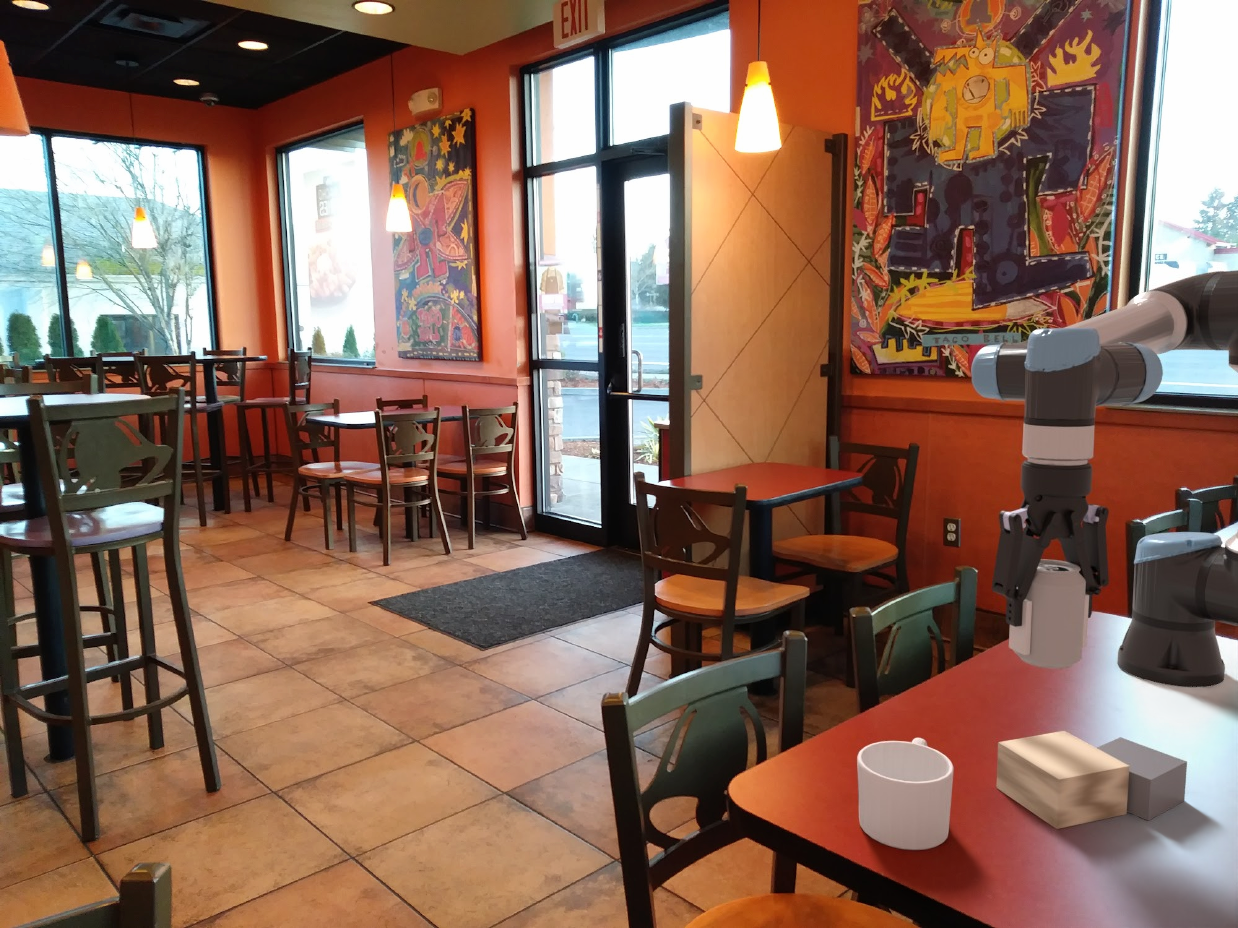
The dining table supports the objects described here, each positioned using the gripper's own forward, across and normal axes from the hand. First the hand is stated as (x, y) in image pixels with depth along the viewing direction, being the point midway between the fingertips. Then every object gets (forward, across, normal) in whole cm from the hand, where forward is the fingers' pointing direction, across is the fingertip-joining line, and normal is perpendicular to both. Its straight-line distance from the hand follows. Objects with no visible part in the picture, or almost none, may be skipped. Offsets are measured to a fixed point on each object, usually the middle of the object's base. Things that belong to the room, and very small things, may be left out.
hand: (1047, 647), depth 108 cm
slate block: (+18, -10, +4) cm, 21 cm away
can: (+2, 0, 0) cm, 2 cm away
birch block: (+18, 0, +3) cm, 19 cm away
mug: (+19, +20, +1) cm, 27 cm away
